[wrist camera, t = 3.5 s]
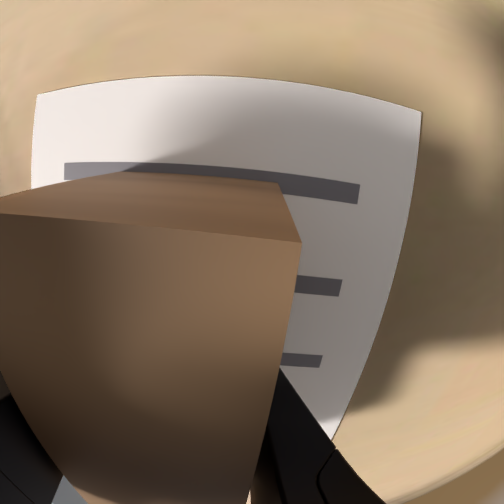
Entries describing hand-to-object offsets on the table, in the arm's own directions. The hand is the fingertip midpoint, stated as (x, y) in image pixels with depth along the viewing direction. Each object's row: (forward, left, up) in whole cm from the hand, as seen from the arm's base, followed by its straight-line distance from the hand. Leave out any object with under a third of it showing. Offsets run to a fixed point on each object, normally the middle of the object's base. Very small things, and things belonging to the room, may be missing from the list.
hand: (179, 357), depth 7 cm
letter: (0, 0, -1) cm, 1 cm away
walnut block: (0, 0, -1) cm, 1 cm away
